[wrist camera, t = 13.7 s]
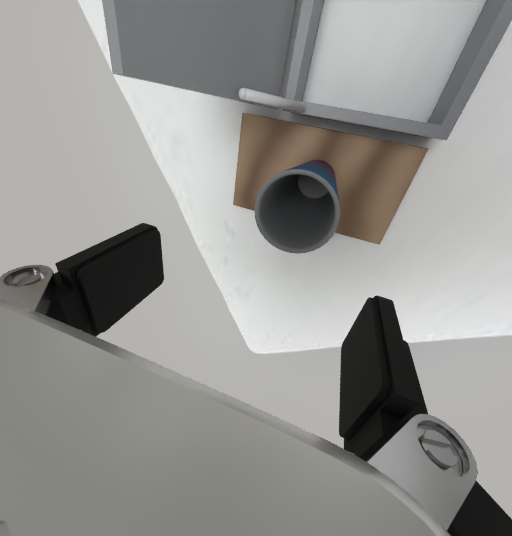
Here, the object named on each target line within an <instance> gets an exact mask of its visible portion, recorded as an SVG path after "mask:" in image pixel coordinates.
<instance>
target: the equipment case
mask: <svg viewBox="0 0 512 536" xmlns="http://www.w3.org/2000/svg"><path fill="white" fill-rule="evenodd" d="M323 3H324V0H302V5H301V10H300V16H299V21H298V27H297V32H296V38H295V44H294V49H293V55H292V60H291V66H290V71H289V77H288V82H287V88H286V93H285V98H283V97H279V96H275V95H271V94H267V93H263V92H259V91H255V90H251V89H247V88H241V89H240V90H239V97H240V98H241V99H243V100H247V101H252V102H256V103H261V104H266V105H270V106H275V107H280V108H283V110H284V111H288V112H291V113H297V114H302V115H308V116H313V117H319V118H324V119H330V120H335V121H340V122H346V123H351V124H357V125H362V126H368V127H373V128H379V129H384V130H390V131H395V132H400V133H406V134H411V135H417V136H422V137H428V138H434V139H443V140H447V139H448V137H449V135H450V133H451V131H452V129H453V127H454V126H455V124H456V122H457V120H458V118H459V116H460V115H461V113H462V111H463V109H464V107H465V105H466V103H467V102H468V100H469V98H470V96H471V94H472V92H473V90H474V89H475V87H476V85H477V83H478V81H479V79H480V78H481V76H482V74H483V72H484V70H485V68H486V66H487V65H488V63H489V61H490V59H491V57H492V55H493V53H494V52H495V50H496V48H497V46H498V44H499V42H500V41H501V39H502V37H503V35H504V33H505V31H506V29H507V28H508V26H509V24H510V22H511V20H512V0H487V1H486V3H485V5H484V8H483V10H482V12H481V14H480V16H479V18H478V20H477V22H476V24H475V26H474V28H473V30H472V32H471V34H470V37H469V39H468V41H467V43H466V45H465V47H464V49H463V51H462V53H461V55H460V57H459V59H458V61H457V63H456V66H455V68H454V70H453V72H452V74H451V76H450V78H449V80H448V82H447V84H446V86H445V88H444V90H443V92H442V94H441V97H440V99H439V101H438V103H437V105H436V107H435V109H434V111H433V113H432V115H431V117H430V119H429V121H428V123H424V122H418V121H412V120H407V119H401V118H395V117H389V116H383V115H378V114H372V113H366V112H360V111H354V110H349V109H343V108H337V107H331V106H325V105H320V104H314V103H308V102H302V100H303V95H304V91H305V86H306V81H307V77H308V72H309V67H310V63H311V58H312V54H313V49H314V44H315V40H316V35H317V31H318V26H319V21H320V17H321V12H322V7H323Z"/></svg>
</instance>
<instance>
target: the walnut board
mask: <svg viewBox="0 0 512 536" xmlns="http://www.w3.org/2000/svg"><path fill="white" fill-rule="evenodd" d="M427 151H428V148H423V147H418V146H413V145H407V144H402V143H397V142H392V141H386V140H381V139H376V138H371V137H365V136H360V135H355V134H350V133H345V132H339V131H334V130H329V129H324V128H318V127H313V126H308V125H303V124H298V123H292V122H287V121H282V120H277V119H271V118H266V117H261V116H256V115H251V114H245V113H243V114H242V124H241V134H240V144H239V153H238V163H237V173H236V183H235V192H234V202H233V205H236V206H240V207H243V208H247V209H251V210H254V211H255V202H256V199H257V196H258V193H259V191H260V190H261V188H262V186H263V185H264V184H265V183H266V182H267V181H268V180H269V179H270V178H271V177H273V176H274V175H276V174H278V173H280V172H282V171H285V170H287V169H290V168H293V167H296V166H298V165H301V164H304V163H306V162H309V161H312V160H322V161H325V162H327V163H328V164H330V166H331V167H332V168H333V170H334V173H335V177H336V184H337V190H338V196H339V203H340V219H339V223H338V226H337V229H336V231H335V233H339V234H343V235H346V236H350V237H354V238H357V239H361V240H365V241H368V242H372V243H376V244H380V242H381V240H382V239H383V237H384V235H385V233H386V231H387V229H388V227H389V225H390V223H391V221H392V219H393V217H394V215H395V213H396V211H397V209H398V207H399V205H400V203H401V201H402V199H403V197H404V196H405V194H406V192H407V190H408V188H409V186H410V184H411V182H412V180H413V178H414V176H415V174H416V172H417V170H418V168H419V166H420V164H421V162H422V160H423V158H424V156H425V154H426V152H427Z"/></svg>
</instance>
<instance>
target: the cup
mask: <svg viewBox="0 0 512 536" xmlns="http://www.w3.org/2000/svg"><path fill="white" fill-rule="evenodd" d="M255 219H256V223H257V226H258V228H259V230H260V232H261V233H262V235H263V236H264V238H265V239H266V240H267V241H268V242H269V243H270V244H272V245H273V246H275V247H276V248H278V249H280V250H283V251H286V252H290V253H306V252H310V251H313V250H315V249H317V248H319V247H321V246H322V245H324V244H325V243H326V242H327V241H328V240H329V239H330V238H331V237H332V236H333V234H334V232H335V231H336V229H337V226H338V223H339V219H340V203H339V196H338V190H337V184H336V177H335V173H334V170H333V168H332V167H331V166H330V164H328V163H327V162H325V161H322V160H312V161H309V162H306V163H304V164H301V165H298V166H296V167H293V168H290V169H287V170H285V171H282V172H280V173H278V174H276V175H274V176H273V177H271V178H270V179H269V180H268V181H267V182H266V183H265V184H264V185H263V186H262V188H261V190H260V191H259V193H258V196H257V199H256V202H255Z"/></svg>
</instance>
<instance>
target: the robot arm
mask: <svg viewBox="0 0 512 536" xmlns="http://www.w3.org/2000/svg"><path fill="white" fill-rule="evenodd" d="M160 238H161V237H160V232H159V231H158V229H157V228H156V227H155V226H152V225H149V224H145V223H142V224H139V225H137V226H135V227H133V228H131V229H129V230H126V231H124V232H122V233H120V234H118V235H116V236H114V237H112V238H109V239H107V240H105V241H103V242H101V243H99V244H97V245H94V246H92V247H90V248H88V249H86V250H84V251H81V252H79V253H77V254H75V255H73V256H71V257H68V258H67V259H64V260H62V261H60V262H58V263H56V266H57V269H58V272H57V273H55V274H54V273H53V271H52V269H51V268H50V267H48V266H43V265H30V266H24V267H19V268H16V269H13V270H11V271H8V272H7V273H5V274H3V275H2V276H1V277H0V536H512V519H511V518H510V517H509V516H508V515H507V514H506V513H505V512H504V510H503V509H502V508H501V507H500V506H499V505H498V504H497V503H496V502H495V501H494V500H493V499H492V498H491V496H490V495H489V494H488V493H487V492H486V491H485V490H484V489H483V488H482V487H481V485H479V483H478V482H477V481H476V478H477V474H478V471H477V465H476V461H475V459H474V456H473V455H472V452H471V450H470V449H469V447H468V446H467V444H466V443H465V441H464V440H463V439H462V438H461V437H460V436H459V435H458V433H457V432H456V431H454V429H452V428H451V427H450V426H449V425H447V424H446V423H445V422H443V421H442V420H440V419H438V418H436V417H434V416H431V415H428V412H427V408H426V405H425V401H424V398H423V395H422V391H421V387H420V384H419V380H418V377H417V373H416V370H415V366H414V362H413V359H412V356H411V352H410V349H409V346H408V343H407V342H406V341H404V340H403V337H402V334H401V330H400V326H399V322H398V318H397V315H396V311H395V307H394V303H393V301H392V300H389V299H386V298H383V297H380V296H375V297H374V298H370V297H369V298H368V299H367V301H366V303H365V304H364V306H363V308H362V310H361V312H360V313H359V315H358V317H357V319H356V320H355V322H354V324H353V326H352V328H351V329H350V331H349V333H348V335H347V336H346V338H345V340H344V342H343V344H342V348H341V377H340V381H341V382H340V415H339V416H340V417H339V434H340V436H341V437H343V438H344V449H343V448H340V447H339V446H337V445H335V444H333V443H331V442H329V441H327V440H325V439H323V438H321V437H319V436H316V435H315V434H312V433H310V432H308V431H306V430H303V429H302V428H300V427H297V426H295V425H293V424H291V423H289V422H287V421H285V420H282V419H280V418H278V417H276V416H274V415H272V414H269V413H267V412H265V411H263V410H260V409H258V408H256V407H254V406H251V405H249V404H247V403H245V402H242V401H240V400H238V399H236V398H233V397H231V396H229V395H227V394H225V393H222V392H220V391H218V390H216V389H213V388H211V387H209V386H206V385H204V384H202V383H200V382H197V381H195V380H193V379H191V378H188V377H186V376H184V375H182V374H179V373H177V372H175V371H173V370H170V369H168V368H166V367H163V366H161V365H159V364H157V363H154V362H152V361H149V360H148V359H145V358H143V357H141V356H138V355H136V354H134V353H132V352H129V351H127V350H125V349H122V348H120V347H118V346H116V345H113V344H111V343H108V342H106V341H104V340H102V339H99V338H97V337H96V336H97V335H98V334H100V333H102V332H105V331H106V330H108V329H109V328H110V327H111V326H112V325H114V324H115V323H116V322H117V321H118V320H120V319H121V318H122V317H123V316H124V315H125V314H127V313H128V312H129V311H130V310H131V309H133V308H134V307H135V306H136V305H137V304H139V303H140V302H141V301H142V300H143V299H144V298H146V297H147V296H148V295H149V294H150V293H152V292H153V291H154V290H155V289H156V288H158V287H159V286H160V285H161V284H162V282H163V280H164V274H163V261H162V249H161V239H160ZM81 330H82V331H81ZM346 450H347V451H346ZM348 451H349V452H348ZM350 452H351V453H350ZM352 453H353V454H352ZM354 454H355V455H354Z"/></svg>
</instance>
